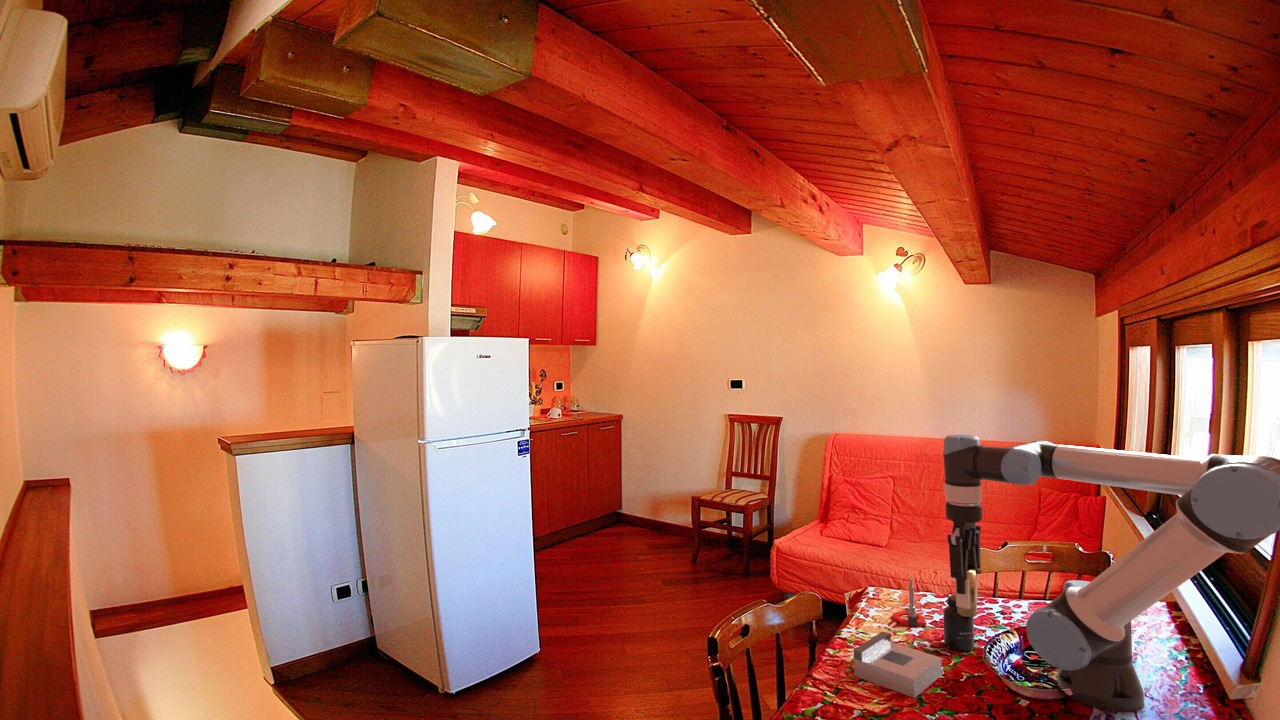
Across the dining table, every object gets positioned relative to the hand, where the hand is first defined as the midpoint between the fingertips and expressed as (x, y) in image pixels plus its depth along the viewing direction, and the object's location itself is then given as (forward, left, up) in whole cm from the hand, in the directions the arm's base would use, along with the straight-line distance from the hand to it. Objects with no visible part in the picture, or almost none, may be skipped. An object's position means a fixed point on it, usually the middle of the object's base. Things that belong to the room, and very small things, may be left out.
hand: (967, 604), depth 148 cm
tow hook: (+23, -20, -16) cm, 35 cm away
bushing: (0, 0, -2) cm, 2 cm away
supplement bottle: (+7, -13, -16) cm, 22 cm away
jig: (+11, +12, -16) cm, 23 cm away
